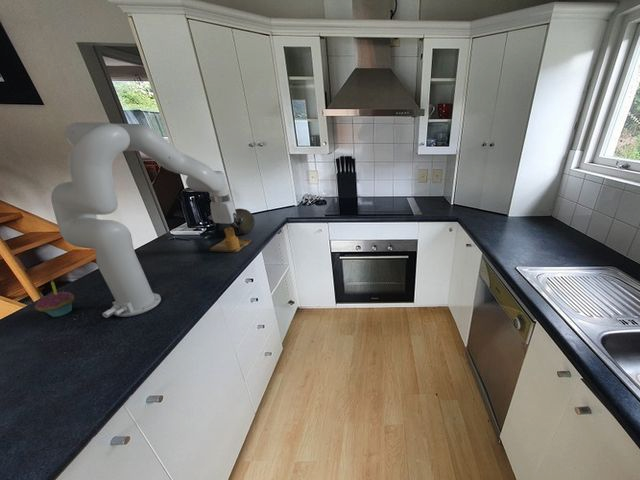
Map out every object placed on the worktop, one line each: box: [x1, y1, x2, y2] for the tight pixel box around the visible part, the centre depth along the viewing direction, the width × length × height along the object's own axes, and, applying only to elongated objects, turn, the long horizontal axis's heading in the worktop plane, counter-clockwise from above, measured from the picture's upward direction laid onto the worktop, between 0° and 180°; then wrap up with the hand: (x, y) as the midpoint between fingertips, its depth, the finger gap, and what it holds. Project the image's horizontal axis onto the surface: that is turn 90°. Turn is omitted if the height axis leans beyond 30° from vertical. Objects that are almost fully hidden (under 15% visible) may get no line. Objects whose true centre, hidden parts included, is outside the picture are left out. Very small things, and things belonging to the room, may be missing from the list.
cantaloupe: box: [227, 208, 256, 236], centre depth 153 cm, size 14×14×15 cm
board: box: [209, 238, 252, 253], centre depth 142 cm, size 14×14×1 cm
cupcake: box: [34, 279, 75, 318], centre depth 89 cm, size 9×8×12 cm
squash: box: [223, 226, 240, 250], centre depth 135 cm, size 6×6×11 cm
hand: (229, 233), depth 134 cm, fingers open, 9 cm apart
